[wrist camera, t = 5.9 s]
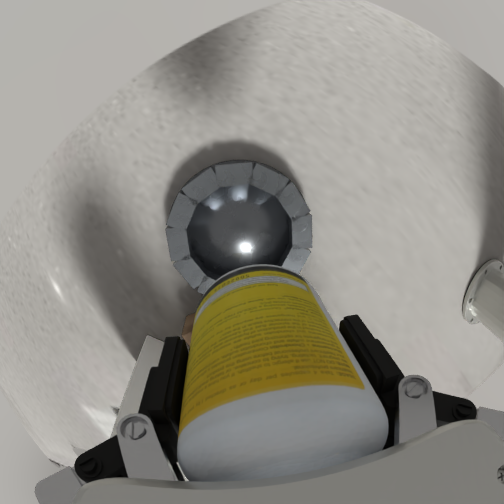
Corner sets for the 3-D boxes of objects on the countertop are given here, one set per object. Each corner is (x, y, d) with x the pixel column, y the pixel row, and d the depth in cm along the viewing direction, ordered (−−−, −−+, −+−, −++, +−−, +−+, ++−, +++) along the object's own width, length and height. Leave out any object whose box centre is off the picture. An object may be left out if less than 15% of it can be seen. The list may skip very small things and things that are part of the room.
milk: (136, 362, 33) (91, 501, 12) (147, 333, 31) (93, 491, 11) (176, 378, 34) (153, 521, 13) (191, 352, 33) (168, 515, 12)
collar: (306, 156, 25) (312, 156, 24) (309, 288, 30) (314, 296, 29) (160, 169, 25) (154, 170, 23) (181, 300, 30) (178, 310, 28)
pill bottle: (174, 286, 13) (105, 540, 2) (299, 238, 13) (467, 479, 2) (226, 374, 15) (236, 562, 4) (329, 338, 15) (414, 518, 4)
